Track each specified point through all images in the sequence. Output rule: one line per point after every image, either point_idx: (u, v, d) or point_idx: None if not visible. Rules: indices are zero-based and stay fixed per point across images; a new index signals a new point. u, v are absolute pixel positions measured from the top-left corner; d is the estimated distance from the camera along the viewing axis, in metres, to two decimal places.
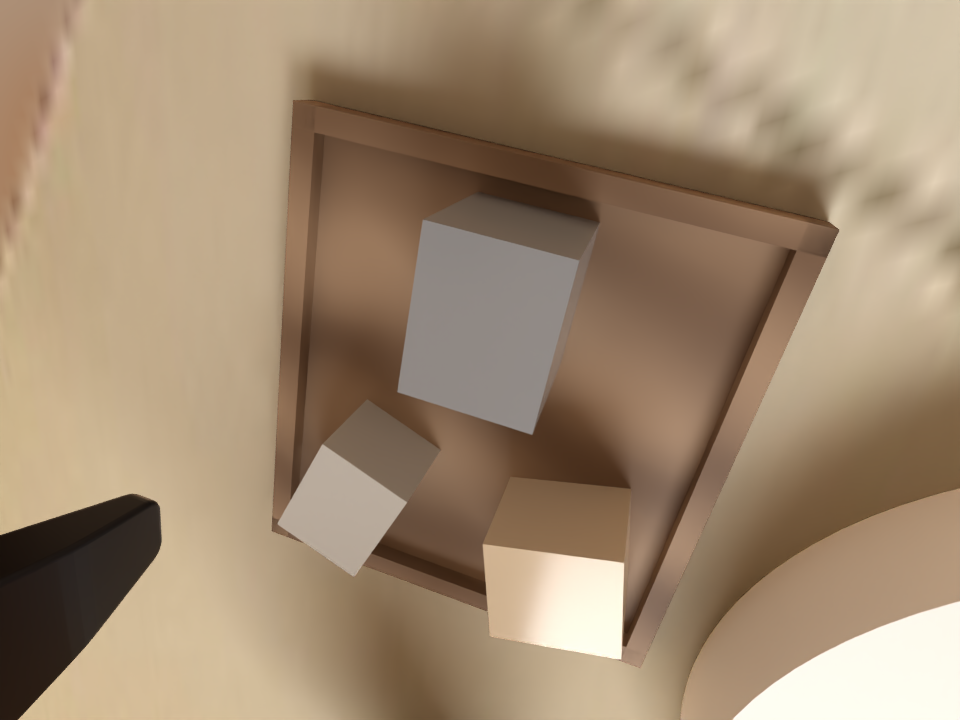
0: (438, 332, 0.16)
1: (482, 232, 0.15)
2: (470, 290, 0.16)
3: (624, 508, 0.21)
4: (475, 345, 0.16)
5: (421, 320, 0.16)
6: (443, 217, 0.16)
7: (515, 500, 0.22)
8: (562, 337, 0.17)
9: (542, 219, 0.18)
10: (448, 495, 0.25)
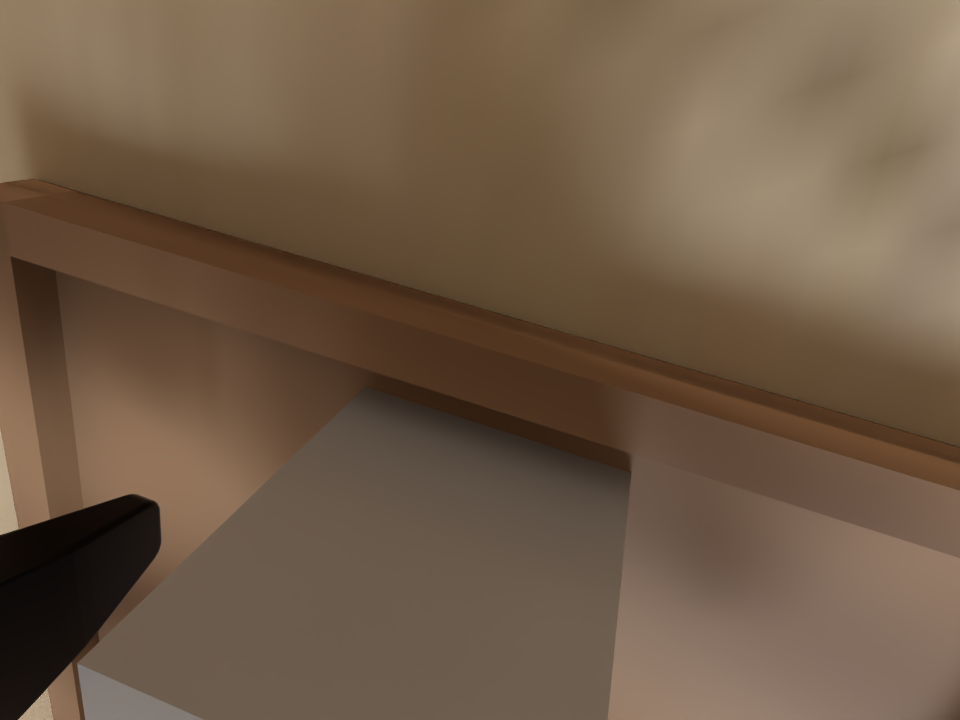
0: None
1: (270, 710, 0.05)
2: None
3: None
4: None
5: None
6: (178, 607, 0.05)
7: None
8: None
9: (495, 504, 0.07)
10: None
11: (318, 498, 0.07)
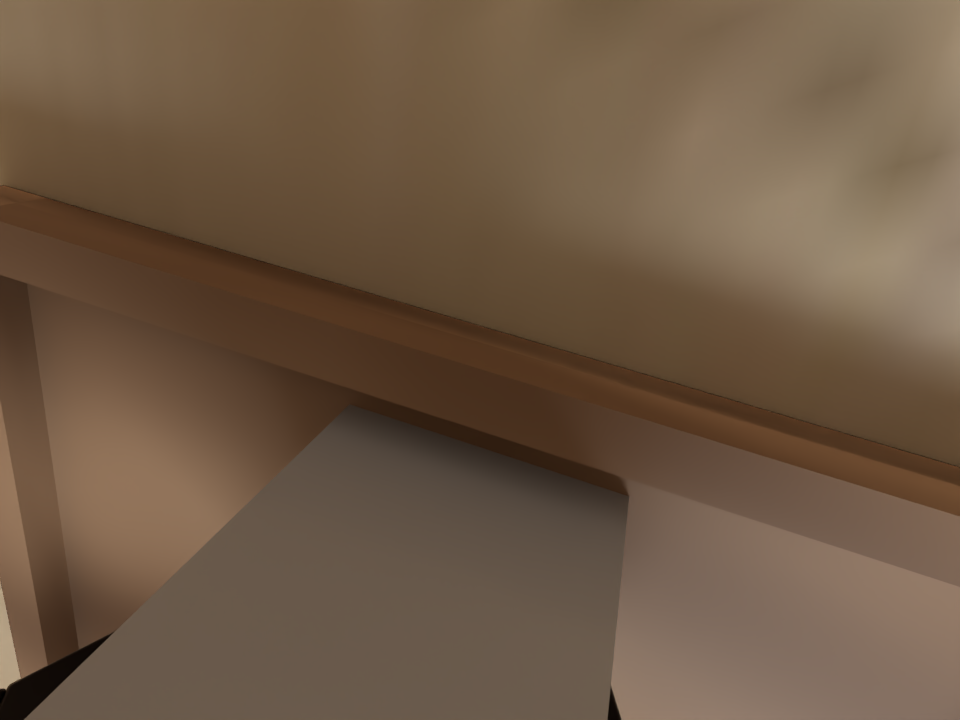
0: None
1: None
2: None
3: None
4: None
5: None
6: (132, 660, 0.05)
7: None
8: None
9: (483, 534, 0.07)
10: None
11: (293, 530, 0.06)
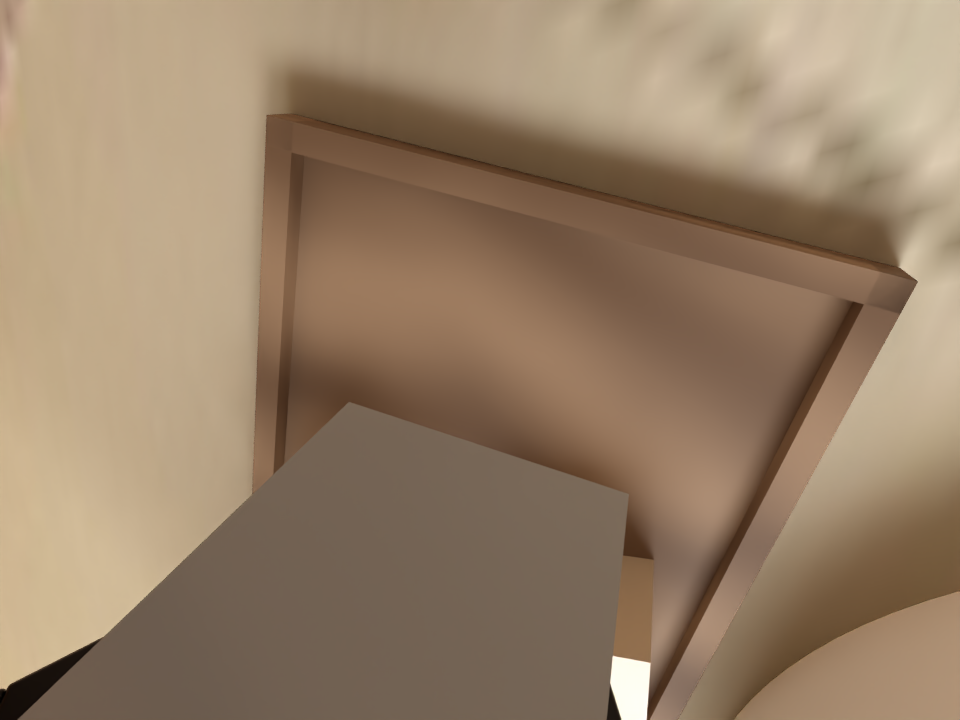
0: None
1: None
2: None
3: (647, 586, 0.18)
4: None
5: None
6: (131, 656, 0.05)
7: None
8: None
9: (483, 532, 0.07)
10: None
11: (292, 527, 0.06)
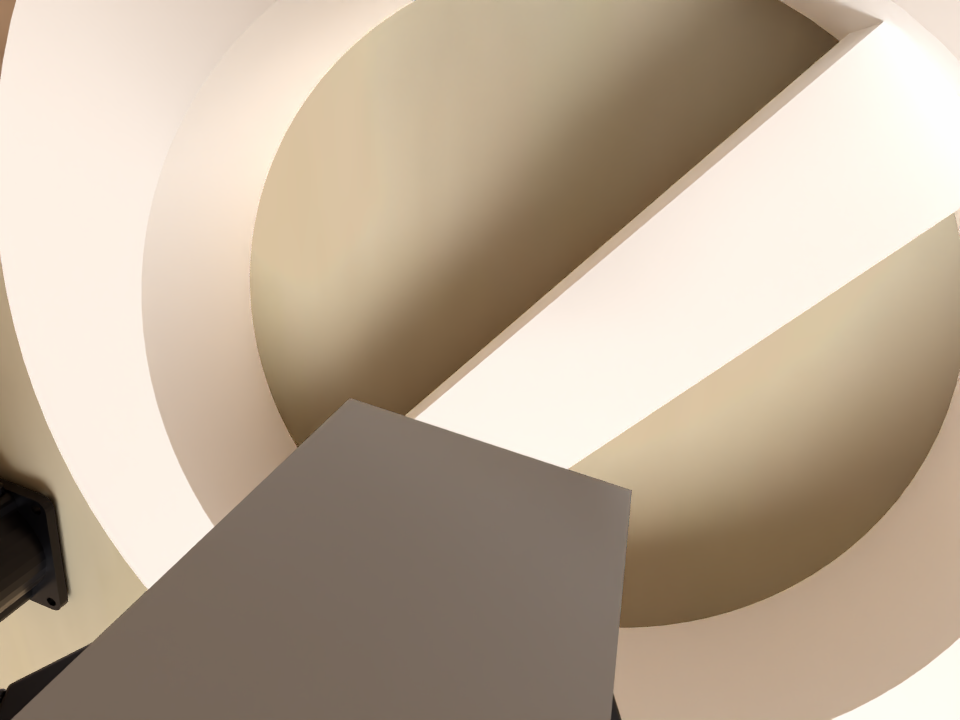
0: None
1: None
2: None
3: None
4: None
5: None
6: (130, 651, 0.05)
7: None
8: None
9: (485, 528, 0.07)
10: None
11: (293, 522, 0.06)
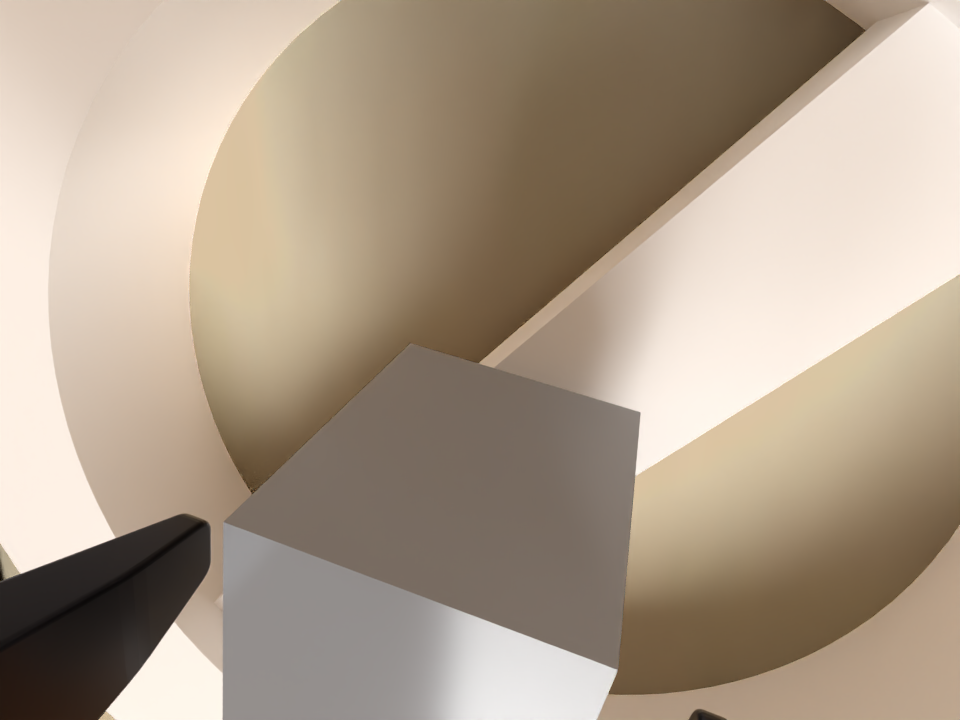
0: None
1: (371, 556, 0.06)
2: (349, 675, 0.06)
3: None
4: None
5: (250, 706, 0.07)
6: (289, 491, 0.07)
7: None
8: None
9: (528, 431, 0.09)
10: None
11: (384, 422, 0.08)
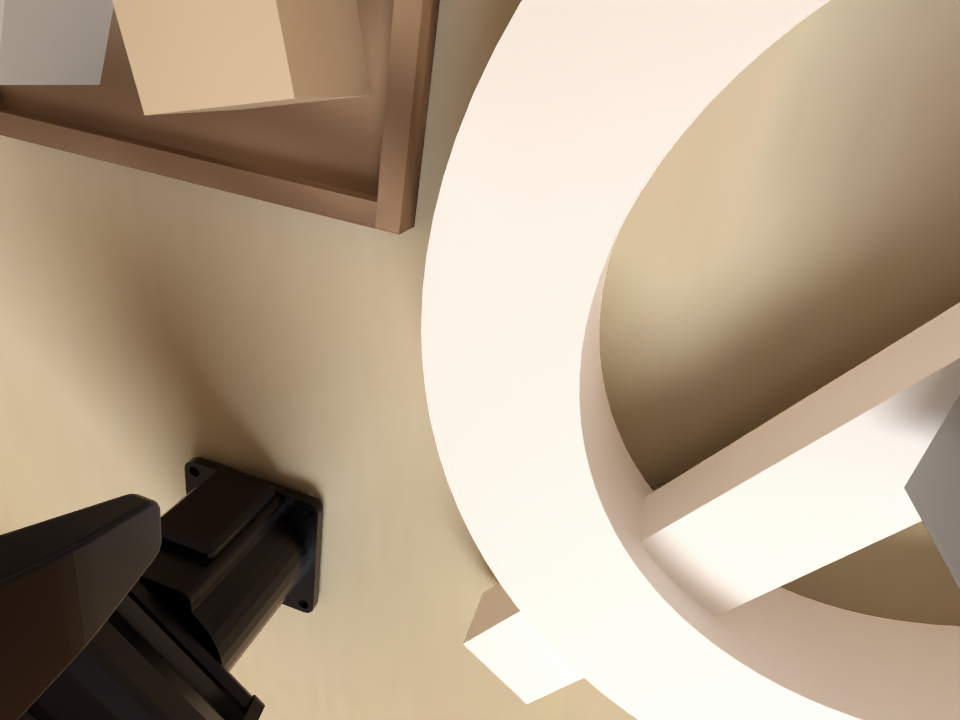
0: None
1: None
2: None
3: None
4: None
5: None
6: None
7: None
8: None
9: None
10: None
11: None
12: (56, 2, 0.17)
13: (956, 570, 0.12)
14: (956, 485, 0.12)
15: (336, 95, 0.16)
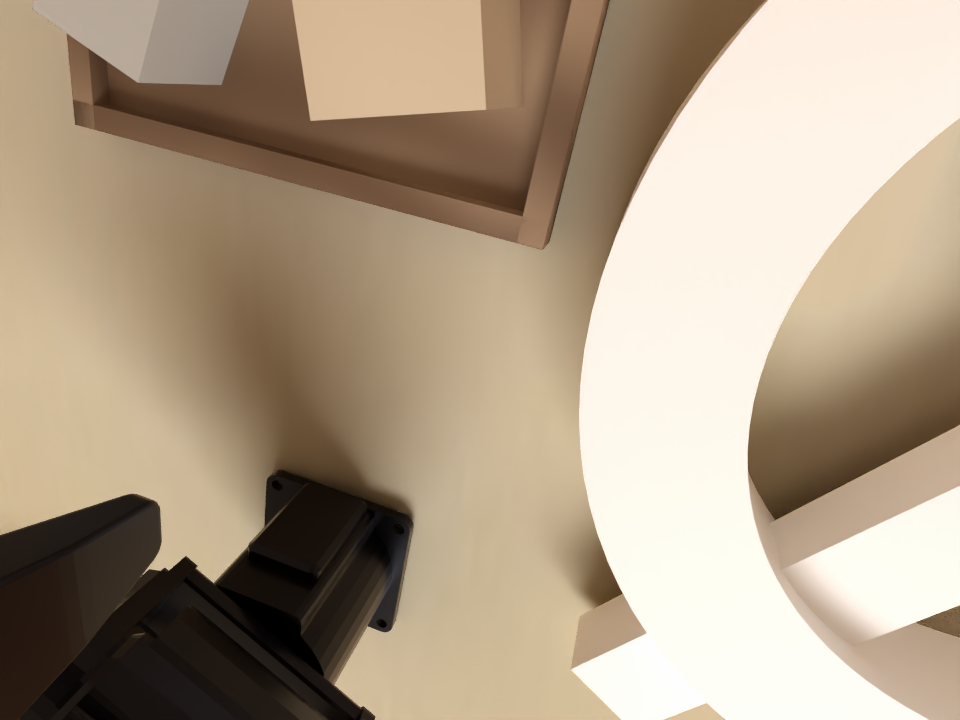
0: None
1: None
2: None
3: None
4: None
5: None
6: None
7: None
8: None
9: None
10: (285, 21, 0.18)
11: None
12: None
13: None
14: None
15: (506, 106, 0.16)
